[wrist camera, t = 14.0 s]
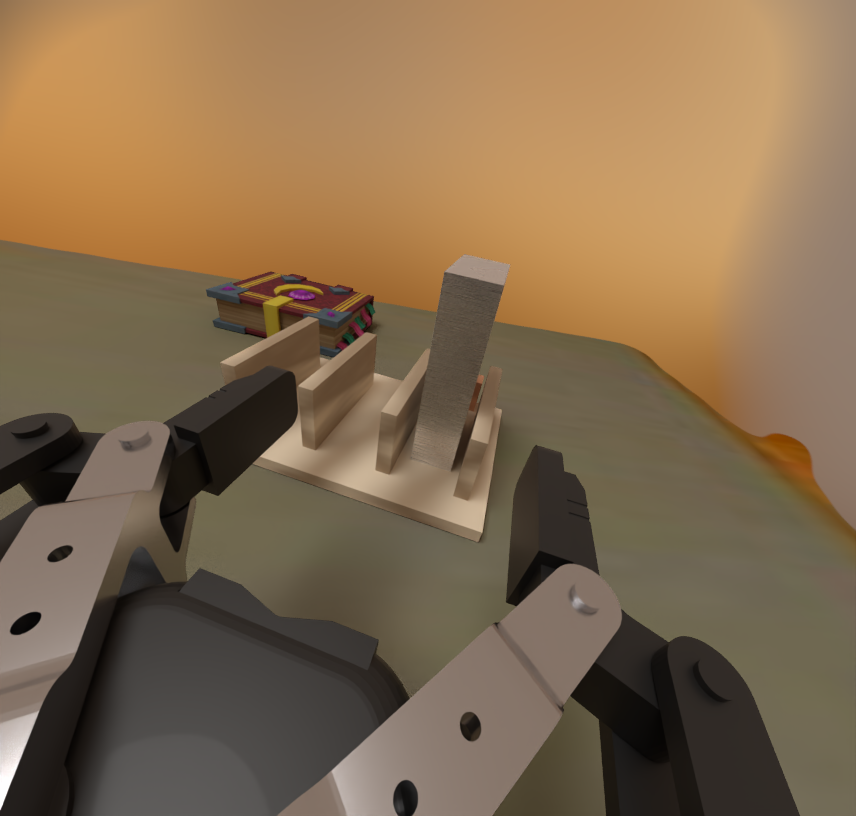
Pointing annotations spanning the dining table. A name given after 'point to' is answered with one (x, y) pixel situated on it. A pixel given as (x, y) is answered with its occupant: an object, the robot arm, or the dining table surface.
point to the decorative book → (293, 308)
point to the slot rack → (374, 431)
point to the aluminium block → (456, 356)
